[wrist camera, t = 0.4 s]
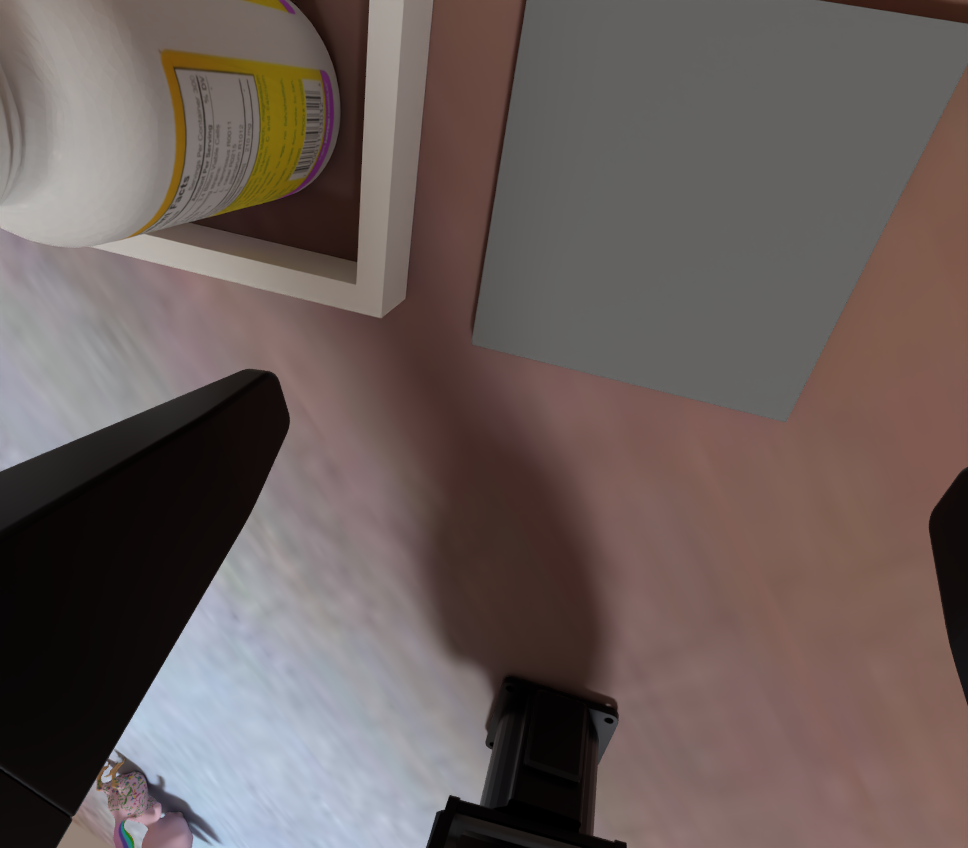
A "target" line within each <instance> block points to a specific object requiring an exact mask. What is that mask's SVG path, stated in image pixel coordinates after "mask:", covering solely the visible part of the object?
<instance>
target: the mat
mask: <svg viewBox="0 0 968 848" xmlns="http://www.w3.org/2000/svg"><path fill="white" fill-rule="evenodd" d="M967 64H968V24H966V23H959V22H953V21H947V20H940V19H934V18H928V17H921V16H915V15H908V14H902V13H896V12H889V11H883V10H877V9H870V8H864V7H858V6H851V5H845V4H839V3H832V2H826V1H820V0H527V1H526V8H525V14H524V20H523V26H522V32H521V39H520V45H519V51H518V57H517V63H516V70H515V76H514V82H513V88H512V94H511V101H510V107H509V113H508V119H507V125H506V132H505V138H504V144H503V150H502V156H501V163H500V169H499V175H498V181H497V188H496V194H495V200H494V206H493V212H492V219H491V225H490V231H489V237H488V243H487V250H486V256H485V262H484V268H483V274H482V281H481V287H480V293H479V299H478V305H477V312H476V318H475V324H474V330H473V336H472V343H471V344H472V345H476V346H480V347H484V348H488V349H492V350H496V351H500V352H504V353H508V354H512V355H516V356H520V357H524V358H528V359H532V360H536V361H540V362H544V363H548V364H552V365H556V366H560V367H565V368H569V369H573V370H577V371H581V372H585V373H589V374H593V375H597V376H601V377H605V378H609V379H613V380H617V381H621V382H625V383H629V384H633V385H637V386H641V387H645V388H649V389H653V390H658V391H662V392H666V393H670V394H674V395H678V396H682V397H686V398H690V399H694V400H698V401H702V402H706V403H710V404H714V405H718V406H722V407H726V408H730V409H734V410H738V411H742V412H746V413H750V414H755V415H759V416H763V417H767V418H771V419H775V420H779V421H783V422H786V421H787V419H788V417H789V415H790V413H791V411H792V409H793V407H794V405H795V403H796V401H797V400H798V398H799V396H800V394H801V392H802V390H803V388H804V386H805V384H806V382H807V380H808V378H809V376H810V374H811V372H812V370H813V368H814V366H815V364H816V362H817V360H818V358H819V356H820V354H821V352H822V350H823V348H824V346H825V344H826V342H827V340H828V338H829V336H830V334H831V332H832V330H833V328H834V326H835V324H836V323H837V321H838V319H839V317H840V315H841V313H842V311H843V309H844V307H845V305H846V303H847V301H848V299H849V297H850V295H851V293H852V291H853V289H854V287H855V285H856V283H857V281H858V279H859V277H860V275H861V273H862V271H863V269H864V267H865V265H866V263H867V261H868V259H869V257H870V255H871V253H872V251H873V249H874V247H875V246H876V244H877V242H878V240H879V238H880V236H881V234H882V232H883V230H884V228H885V226H886V224H887V222H888V220H889V218H890V216H891V214H892V212H893V210H894V208H895V206H896V204H897V202H898V200H899V198H900V196H901V194H902V192H903V190H904V188H905V186H906V184H907V182H908V180H909V178H910V176H911V174H912V172H913V170H914V169H915V167H916V165H917V163H918V161H919V159H920V157H921V155H922V153H923V151H924V149H925V147H926V145H927V143H928V141H929V139H930V137H931V135H932V133H933V131H934V129H935V127H936V125H937V123H938V121H939V119H940V117H941V115H942V113H943V111H944V109H945V107H946V105H947V103H948V101H949V99H950V97H951V95H952V93H953V92H954V90H955V88H956V86H957V84H958V82H959V80H960V78H961V76H962V74H963V72H964V70H965V68H966V66H967Z"/></svg>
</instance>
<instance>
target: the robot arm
mask: <svg viewBox="0 0 968 848" xmlns="http://www.w3.org/2000/svg"><path fill="white" fill-rule="evenodd" d="M289 424H290V416H289V412H288V409H287V405H286V402H285V399H284V395H283V392H282V389H281V385H280V382H279V379H278V377H277V376H276V375H275V374H274V373H272V372H270V371H264V370H256V369H245V370H242V371H239V372H237V373H235V374H232V375H230V376H228V377H225V378H223V379H220V380H218V381H216V382H213V383H211V384H208V385H206V386H204V387H201V388H199V389H196V390H194V391H192V392H189V393H187V394H185V395H182V396H180V397H177V398H175V399H173V400H170V401H168V402H165V403H163V404H161V405H158V406H156V407H154V408H151V409H149V410H146V411H144V412H142V413H139V414H137V415H134V416H132V417H130V418H127V419H125V420H122V421H120V422H118V423H115V424H113V425H111V426H108V427H106V428H103V429H101V430H99V431H96V432H94V433H91V434H89V435H87V436H84V437H82V438H80V439H77V440H75V441H72V442H70V443H68V444H65V445H63V446H60V447H58V448H56V449H53V450H51V451H48V452H46V453H44V454H41V455H39V456H37V457H34V458H32V459H29V460H27V461H25V462H22V463H20V464H17V465H15V466H13V467H10V468H8V469H6V470H3V471H1V472H0V848H57V846H58V844H59V842H60V841H61V839H62V837H63V835H64V834H65V832H66V830H67V829H68V827H69V825H70V824H71V822H72V817H73V816H74V815H75V814H76V813H77V811H78V809H79V807H80V806H81V804H82V802H83V801H84V799H85V797H86V795H87V794H88V792H89V790H90V789H91V787H92V785H93V783H94V782H95V780H96V778H97V777H98V775H99V773H100V771H101V770H102V768H103V766H104V765H105V763H106V761H107V759H108V758H109V756H110V754H111V753H112V751H113V749H114V748H115V746H116V744H117V742H118V741H119V739H120V737H121V736H122V734H123V732H124V730H125V729H126V727H127V725H128V724H129V722H130V720H131V718H132V717H133V715H134V713H135V712H136V710H137V708H138V706H139V705H140V703H141V701H142V700H143V698H144V696H145V694H146V693H147V691H148V689H149V688H150V686H151V684H152V682H153V681H154V679H155V677H156V676H157V674H158V672H159V670H160V669H161V667H162V665H163V664H164V662H165V660H166V658H167V657H168V655H169V653H170V652H171V650H172V648H173V646H174V645H175V643H176V641H177V640H178V638H179V636H180V634H181V633H182V631H183V629H184V628H185V626H186V624H187V623H188V621H189V619H190V617H191V616H192V614H193V612H194V611H195V609H196V607H197V605H198V604H199V602H200V600H201V599H202V597H203V595H204V593H205V592H206V590H207V588H208V587H209V585H210V583H211V581H212V580H213V578H214V576H215V575H216V573H217V571H218V569H219V568H220V566H221V564H222V563H223V561H224V559H225V557H226V556H227V554H228V552H229V551H230V549H231V547H232V545H233V544H234V542H235V540H236V539H237V537H238V535H239V533H240V532H241V530H242V528H243V527H244V525H245V523H246V521H247V519H248V517H249V516H250V514H251V512H252V510H253V508H254V506H255V503H256V501H257V499H258V497H259V495H260V493H261V490H262V488H263V486H264V484H265V481H266V479H267V477H268V475H269V472H270V470H271V468H272V466H273V463H274V461H275V459H276V457H277V454H278V452H279V450H280V448H281V446H282V443H283V441H284V439H285V437H286V434H287V432H288V429H289ZM929 533H930V539H931V545H932V551H933V556H934V562H935V568H936V574H937V579H938V585H939V591H940V596H941V602H942V608H943V614H944V619H945V625H946V630H947V634H948V639H949V644H950V647H951V651H952V655H953V658H954V662H955V666H956V669H957V672H958V675H959V679H960V682H961V685H962V688H963V692H964V695H965V698H966V701H967V705H968V467H967V468H965V469H963V470H962V471H961V472H960V473H959V475H958V476H957V477H956V479H955V480H954V481H953V483H952V484H951V486H950V487H949V488H948V490H947V491H946V492H945V494H944V495H943V497H942V498H941V499H940V501H939V502H938V504H937V505H936V506H935V508H934V509H933V511H932V513H931V516H930V520H929ZM618 718H619V714H618V712H617V711H616V710H614V709H612V708H609V707H605V706H602V705H599V704H596V703H593V702H590V701H587V700H584V699H580V698H577V697H574V696H571V695H568V694H565V693H562V692H559V691H555V690H552V689H549V688H546V687H543V686H540V685H537V684H533V683H530V682H527V681H524V680H521V679H518V678H515V677H510V676H509V677H505V678H504V679H503V682H502V685H501V689H500V692H499V696H498V699H497V703H496V706H495V710H494V713H493V717H492V720H491V724H490V727H489V731H488V734H487V738H486V746H487V747H488V748H490V749H492V754H491V758H490V763H489V767H488V771H487V776H486V780H485V785H484V789H483V793H482V798H481V802H480V805H477V804H473V803H470V802H466V801H462V800H460V798H459V797H456V796H452V795H450V796H449V798H448V801H447V804H446V807H445V810H441V811H438V812H437V813H436V816H435V820H434V823H433V827H432V830H431V834H430V837H429V840H428V843H427V846H426V848H627V845H626V842H622V841H618V840H614V842H613V841H610V840H606V839H602V838H599V837H595V836H593V832H594V816H595V800H596V784H597V768H598V764H599V762H600V760H601V758H602V756H603V754H604V752H605V750H606V748H607V746H608V744H609V741H610V739H611V737H612V735H613V733H614V731H615V729H616V727H617V725H618Z"/></svg>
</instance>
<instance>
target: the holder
mask: <svg viewBox="0 0 968 848" xmlns="http://www.w3.org/2000/svg"><path fill="white" fill-rule="evenodd" d="M432 10H433V0H370V2H369V24H368V45H367V67H366V88H365V110H364V131H363V153H362V174H361V196H360V217H359V239H358V260H357V262H354V261H350V260H346V259H342V258H337V257H333V256H329V255H325V254H320V253H316V252H312V251H308V250H303V249H299V248H295V247H291V246H286V245H282V244H278V243H273V242H269V241H265V240H261V239H256V238H252V237H248V236H244V235H239V234H235V233H231V232H227V231H222V230H218V229H214V228H210V227H205V226H201V225H197V224H193V223H183V224H179V225H176V226H172V227H168V228H164V229H160V230H156V231H153V232H149V233H145V234H141V235H138V236H134V237H131V238H127V239H123V240H119V241H115V242H109V243H105V244H101V245H96V246H90V247H94V248H98V249H102V250H106V251H110V252H114V253H118V254H122V255H126V256H130V257H134V258H138V259H142V260H146V261H150V262H154V263H159V264H163V265H167V266H171V267H175V268H179V269H183V270H187V271H191V272H195V273H199V274H203V275H207V276H211V277H215V278H219V279H223V280H227V281H232V282H236V283H240V284H244V285H248V286H252V287H256V288H260V289H264V290H268V291H272V292H276V293H280V294H284V295H288V296H292V297H296V298H300V299H305V300H309V301H313V302H317V303H321V304H325V305H329V306H333V307H337V308H341V309H345V310H349V311H353V312H357V313H361V314H365V315H369V316H374V317H378V318H382V317H383V316H385V315H386V314H387V313H388V312H390V311H391V310H392V309H394V308H395V307H396V306H397V305H399V304H400V303H401V302H402V301H404V300H405V299H406V289H407V278H408V267H409V257H410V246H411V235H412V224H413V214H414V203H415V192H416V181H417V171H418V160H419V149H420V138H421V128H422V117H423V106H424V95H425V85H426V74H427V63H428V53H429V42H430V31H431V20H432Z"/></svg>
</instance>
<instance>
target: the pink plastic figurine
mask: <svg viewBox="0 0 968 848" xmlns="http://www.w3.org/2000/svg"><path fill="white" fill-rule="evenodd" d="M124 761H125V759H124V760H123V762H122V763H119V764H118V762H117V764H116V766H115V767H114V768H113V769H112V770H110V773H109V775H106V776H104V777H108V776H110V775H112V780H111V781H109V782H106V783H102V781H101V776H102V774H103V772H104V770H106V769H107V768H108V767H109V764H110V763H108V766H105V767H104V766H103V768H102V770H101V771H100V773H99V775H98V777H97V791H102V792H104V793H106V795H107V797H108V808H109V811H110V812H111V814H112V815H113V816H114V818H115V830H114V843H115V846H116V848H134V841H133V838H132V837H131V835H130V834H129V833H128V832H127V831H126V830H125V829H124V823H125V821H126V820H127V819H128V820H131V821H136V822H140V823H143V824H144V825H146V826H147V828H148V831H147V833H146V835H145V837H144V839H143V842H142V848H192V843H193V835H192V833H191V831H190V830H189V827H188V824H187V822H186V820H185V819H184V817H183V814H182V813H181V812H174V813H172V812H168V813H166V815H165V816H164V817H162V818H161V817H160V816H161V812H162V809H161V804H160V803H157V801H156V800H155V799H154V798H153V797H150V796H149V794H148V787H147V783H146V779H145V776H144V775H143V774H141V773H140V772H131V773H129V774H121V775H119V776H117V777H116V772H117V771H118V769H119V767H120V766H122V764H124Z"/></svg>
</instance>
